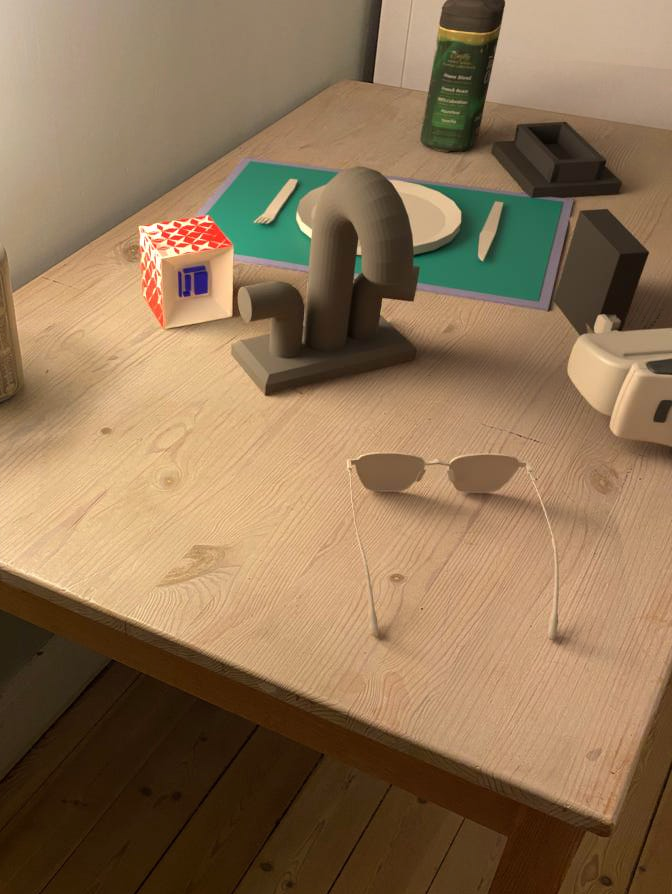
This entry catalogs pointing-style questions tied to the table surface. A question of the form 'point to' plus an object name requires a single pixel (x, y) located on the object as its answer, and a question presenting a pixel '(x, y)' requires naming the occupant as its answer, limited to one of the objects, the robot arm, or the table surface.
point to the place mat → (432, 224)
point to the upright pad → (599, 270)
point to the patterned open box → (186, 271)
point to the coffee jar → (461, 73)
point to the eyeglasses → (465, 476)
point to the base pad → (555, 162)
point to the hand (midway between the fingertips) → (650, 317)
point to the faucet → (336, 291)
